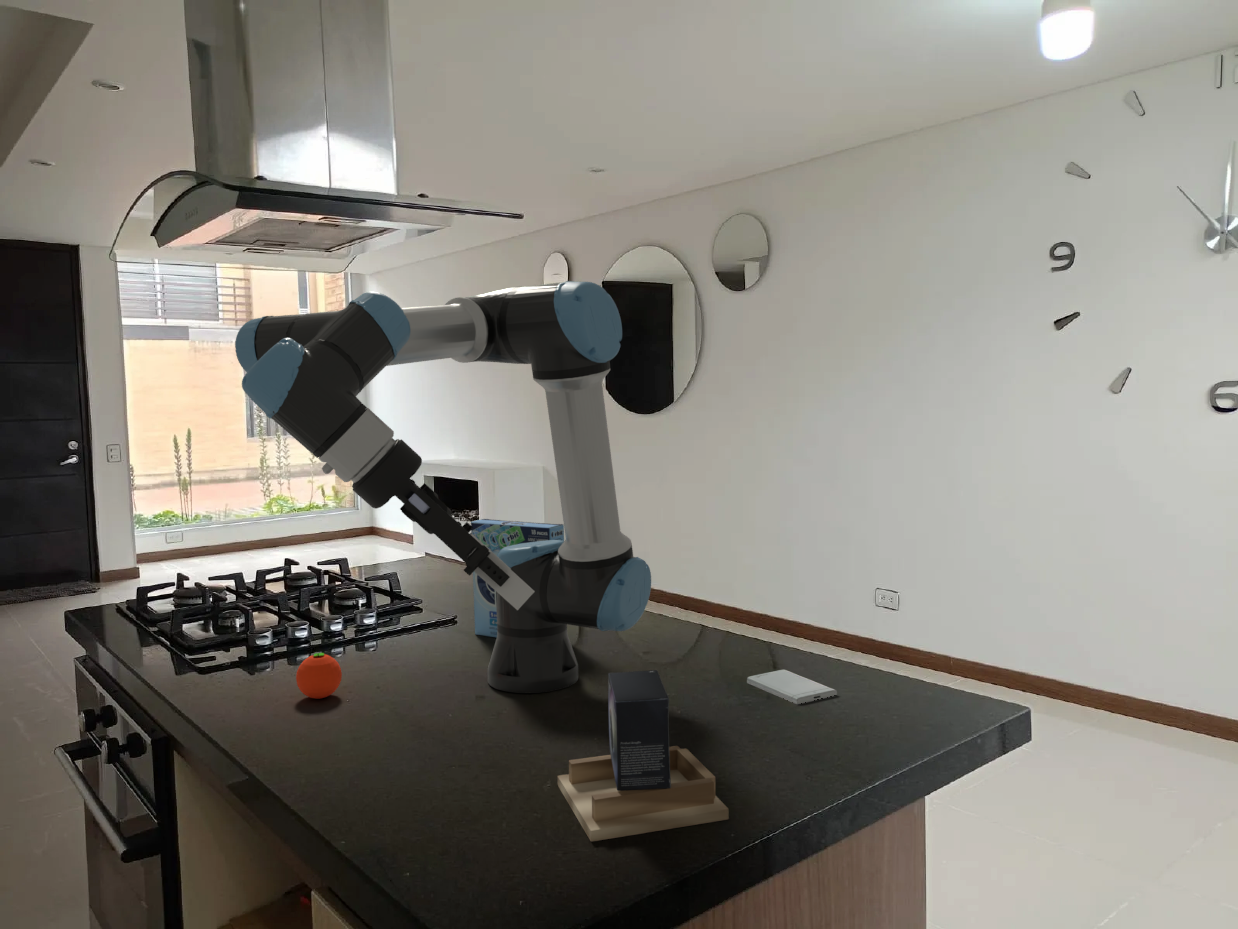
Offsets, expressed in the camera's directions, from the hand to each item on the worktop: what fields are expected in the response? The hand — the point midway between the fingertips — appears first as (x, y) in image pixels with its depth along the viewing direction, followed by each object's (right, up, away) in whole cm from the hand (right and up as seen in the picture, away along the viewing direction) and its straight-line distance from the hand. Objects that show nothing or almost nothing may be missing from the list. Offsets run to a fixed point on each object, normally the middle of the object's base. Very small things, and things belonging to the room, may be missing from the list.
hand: (513, 588), depth 105 cm
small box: (+14, -22, +2) cm, 26 cm away
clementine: (-36, -23, +42) cm, 60 cm away
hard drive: (+40, -23, +43) cm, 63 cm away
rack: (+14, -25, +3) cm, 29 cm away
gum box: (-8, -20, +76) cm, 79 cm away
